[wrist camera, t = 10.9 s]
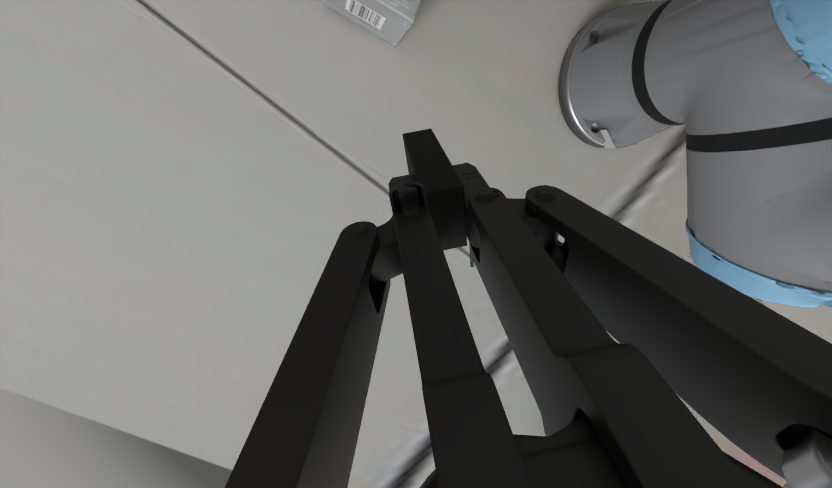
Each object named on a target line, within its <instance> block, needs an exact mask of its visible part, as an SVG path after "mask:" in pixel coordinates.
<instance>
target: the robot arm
mask: <svg viewBox="0 0 832 488" xmlns="http://www.w3.org/2000/svg"><path fill="white" fill-rule="evenodd" d="M558 88H559V101H560V106H561V110H562V113H563V116H564V118H565V120H566V122H567V124H568V126H569V127H570V129H571V130H572V131H573V133H574V134H575V135H576V136H577V137H578V138H580V139H581V140H582V141H584V142H585V143H587V144H589V145H592V146H594V147H599V148H606V149H614V148H618V147H626V146H630V145H633V144H636V143H638V142H640V141H642V140H644V139H646V138H648V137H651V136H653V135H655V134H657V133H659V132H661V131H663V130H666V129H668V128H670V127H672V126H674V125H681V124H686V159H687V205H688V218H687V220H686V231H687V233H688V235H689V240H690V251H691V257H692V260H693V262H694V263H695V265H696V266H697V267H698V268H697V267H696V266H694V265H692V264H690V263H689V262H687V261H685V260H683V259H682V258H680V257H678V256H676V255H675V254H673V253H671V252H669V251H668V250H666V249H664V248H662V247H661V246H659V245H657V244H655V243H654V242H652V241H650V240H648V239H646V238H645V237H643V236H641V235H639V234H638V233H636V232H634V231H632V230H631V229H629V228H627V227H625V226H624V225H622V224H620V223H618V222H617V221H615V220H613V219H611V218H610V217H608V216H606V215H604V214H603V213H601V212H599V211H597V210H596V209H594V208H592V207H590V206H589V205H587V204H585V203H583V202H582V201H580V200H578V199H576V198H575V197H573V196H571V195H569V194H568V193H566V192H564V191H562V190H560V189H558V188H556V187H552V186H547V185H544V186H543V185H542V186H537V187H533V188H531V189H529V190H528V191H527V192H526V197H525V199H510V198H506V197H505V195H504V194H503V193H502V192H501V191H500V190H498V189H495V188H490V187H489V186H488V184H487V183H486V181H485V180H484V179H483V177H482V176H481V174H480V173H479V172H478V170H477V169H476V167H475V166H473V165H471V164H469V163H464V164H458V165H453V166H452V164H451V163H450V161H449V159H448V158H447V156H446V154H445V152H444V151H443V149H442V147H441V145H440V144H439V142H438V140H437V138H436V137H435V135H434V133H433V131H432V130H431V129H427V130H421V131H416V132H411V133H405V134H403V140H404V146H405V152H406V158H407V164H408V171H409V175H405V176H400V177H395V178H392V179H391V181H390V182H389V190H390V192H389V197H390V202H391V207H392V211H393V216H392V218H391V219H390V220H389V221H388V222H386V223H385V224H383V225H381V226H379V227H376V226H375V225H374V224H373V223H371V222H363V221H362V222H356V223H354V224H351V225H349V226H347V227H346V228H344V229H343V231H342V232H341V234H340V236H339V238H338V240H337V242H336V245H335V247H334V249H333V251H332V253H331V256H330V258H329V260H328V262H327V264H326V266H325V269H324V271H323V273H322V275H321V277H320V280H319V282H318V284H317V286H316V288H315V291H314V293H313V295H312V297H311V299H310V302H309V304H308V306H307V308H306V310H305V313H304V315H303V317H302V319H301V321H300V324H299V326H298V328H297V330H296V332H295V335H294V337H293V339H292V341H291V343H290V346H289V348H288V350H287V352H286V354H285V357H284V359H283V361H282V363H281V365H280V368H279V370H278V372H277V374H276V376H275V378H274V381H273V383H272V385H271V387H270V389H269V392H268V394H267V396H266V398H265V400H264V403H263V405H262V407H261V409H260V411H259V414H258V416H257V418H256V420H255V422H254V425H253V427H252V429H251V431H250V433H249V436H248V438H247V440H246V442H245V444H244V447H243V449H242V451H241V453H240V455H239V458H238V460H237V462H236V464H235V466H234V469H233V471H232V473H231V475H230V477H229V480H228V482H227V484H226V486H225V488H347V486H348V482H349V477H350V472H351V468H352V463H353V458H354V453H355V449H356V444H357V439H358V435H359V430H360V425H361V420H362V416H363V411H364V406H365V402H366V397H367V392H368V387H369V383H370V378H371V373H372V369H373V364H374V359H375V354H376V350H377V345H378V340H379V336H380V331H381V326H382V321H383V317H384V312H385V307H386V303H387V298H388V293H389V288H390V279H391V278H393V277H395V276H398V275H400V274H402V273H403V275H404V280H405V286H406V292H407V298H408V304H409V309H410V315H411V321H412V327H413V333H414V338H415V344H416V350H417V356H418V362H419V367H420V373H421V379H422V389H423V396H424V402H425V408H426V414H427V420H428V426H429V432H430V438H431V444H432V450H433V456H434V461H435V467H436V469H435V470H434V471H433V472H432V473H431V474H430V475H429V476H428V477H427V479H426V480H425V481H424V483H423V484H422V485H421V487H420V488H832V344H831V343H829V342H827V341H826V340H824V339H822V338H820V337H818V336H817V335H815V334H813V333H811V332H810V331H808V330H806V329H804V328H803V327H801V326H799V325H797V324H796V323H794V322H792V321H790V320H788V319H787V318H785V317H783V316H782V315H780V314H778V313H776V312H774V311H773V310H771V309H769V308H768V307H766V306H764V305H762V304H761V303H759V302H757V301H755V300H754V299H752V298H750V297H753V298H757V299H761V300H765V301H769V302H773V303H778V304H785V305H791V306H798V307H809V308H816V307H818V306H820V305H821V304H823V305H826V306H828V307H832V0H663V1H655V2H648V3H640V4H632V5H624V6H619V7H616V8H614V9H611V10H609V11H607V12H606V13H604V14H602V15H601V16H599V17H597V18H596V19H594V20H592V21H591V22H589V23H588V24H587V25H586V26H585V27H584V28H582V29H581V31H580V32H579V33H578V34H577V35H576V37H575V38H574V39H573V41H572V42H571V44H570V46H569V48H568V50H567V52H566V54H565V56H564V59H563V62H562V65H561V70H560V75H559V85H558ZM558 234H560V235H561V236H562V237H564V238H565V241H564V244H563V243H561V242H560V241H559V240H558ZM466 235H467V237H468V240H469V242H470V264H471V267H474V264H473V263H475V265H476V267H477V269H478V272H479V274H480V276H481V278H482V281H483V283H484V285H485V287H486V290H487V292H488V294H489V296H490V299H491V301H492V303H493V305H494V308H495V310H496V312H497V315H498V317H499V319H500V321H501V324H502V326H503V328H504V330H505V333H506V335H507V337H508V339H509V342H510V344H511V346H512V348H513V351H514V353H515V355H516V357H517V360H518V362H519V364H520V367H521V369H522V371H523V373H524V376H525V378H526V380H527V382H528V385H529V387H530V389H531V391H532V394H533V396H534V398H535V400H536V403H537V405H538V407H539V410H540V412H541V416H542V419H543V425H544V430H545V434H546V436H528V435H513V433H512V431H511V428H510V425H509V422H508V420H507V417H506V414H505V411H504V409H503V406H502V403H501V400H500V397H499V395H498V392H497V389H496V387H495V384H494V382H493V379H492V377H491V376H490V374H489V373H487V372H486V371H485V370H484V367H483V365H482V362H481V359H480V356H479V353H478V350H477V348H476V345H475V342H474V339H473V336H472V333H471V330H470V327H469V324H468V322H467V319H466V316H465V313H464V310H463V307H462V304H461V301H460V298H459V296H458V293H457V290H456V287H455V284H454V281H453V278H452V275H451V272H450V270H449V267H448V264H447V261H446V258H445V255H444V252H443V250H447V249H452V248H457V247H462V246H467V238H466ZM748 296H750V297H748ZM606 331H607V332H609V333H610V334H611V335H612V336H613V337H614V338H615V339H616V340H617V341H619V342H620V343H621V344H619V343H617V342H615V341H614V340H613V339H612V338H611V337H610V336H609V334H608V333H607V332H606ZM676 394H677V395H679V396H680V397H681V398H682V399H683V400H684V401H685V402H686V403H687V404H689V405H690V406H691V407H692V408H693V409H694V410H695V411H696V412H697V413H699V414H700V415H701V416H702V417H703V418H704V419H705V420H706V421H707V422H709V423H710V424H711V425H712V426H713V427H715V428H716V429H717V430H718V431H719V432H721V433H722V434H723V435H724V436H725V437H726V438H728V439H729V440H730V441H731V442H733V443H734V444H735V445H737V446H738V447H739V448H741V449H742V450H743V451H745V452H746V453H747V454H749V455H750V456H751V457H753V458H754V459H755V460H757V461H758V462H760V463H761V464H763V465H764V466H766V467H767V468H769V469H770V470H772V471H773V472H775V473H776V474H778V475H779V476H781V477H782V478H784V479H785V480H786V481H787V483H786V484H785V485H784V486H783V487H781V486H780V485H778V484H776V483H775V482H773V481H771V480H770V479H768V478H766V477H765V476H763V475H761V474H759V473H758V472H756V471H754V470H753V469H751V468H749V467H748V466H746V465H744V464H743V463H741V462H739V461H738V460H736V459H734V458H733V457H731V456H729V455H728V454H726V453H724V452H723V451H722V450H721V449H720V448H719V447H718V445H717V444H716V443H715V442H714V440H713V439H712V438H711V437H710V435H709V434H708V433H707V432H706V431H705V429H704V428H703V427H702V426H701V424H700V423H699V422H698V421H697V419H696V418H695V417H694V416H693V414H692V413H691V412H690V411H689V409H688V408H687V407H686V406H685V404H684V403H683V402H682V401H681V400H680V398H679V397H678V396H677V395H676Z"/></svg>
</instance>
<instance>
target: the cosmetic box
mask: <svg viewBox="0 0 832 488" xmlns="http://www.w3.org/2000/svg"><path fill="white" fill-rule="evenodd" d="M421 1H422V0H323V5H325V6H327V7H328V8H330V9H332V10H334V11H336V12H337V13H339V14H341V15H342V16H344V17H346V18H347V19H349V20H351V21H352V22H354V23H355V24H357V25H359V26H360V27H362V28H364V29H366V30H367V31H369V32H371V33H372V34H374V35H376V36H377V37H379V38H381V39H383V40H384V41H386V42H388V43H389V44H391V45H392V46H395V47H396V45H397V44H398V43H399V42H400V40H401V39H402V38H403V36H404V35H405V33H406V32H407V31H408V29H409V28H410V27H411V25H412V24H413V23H414V21H415V19H416V16H417V13H418V10H419V7H420V4H421Z"/></svg>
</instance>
